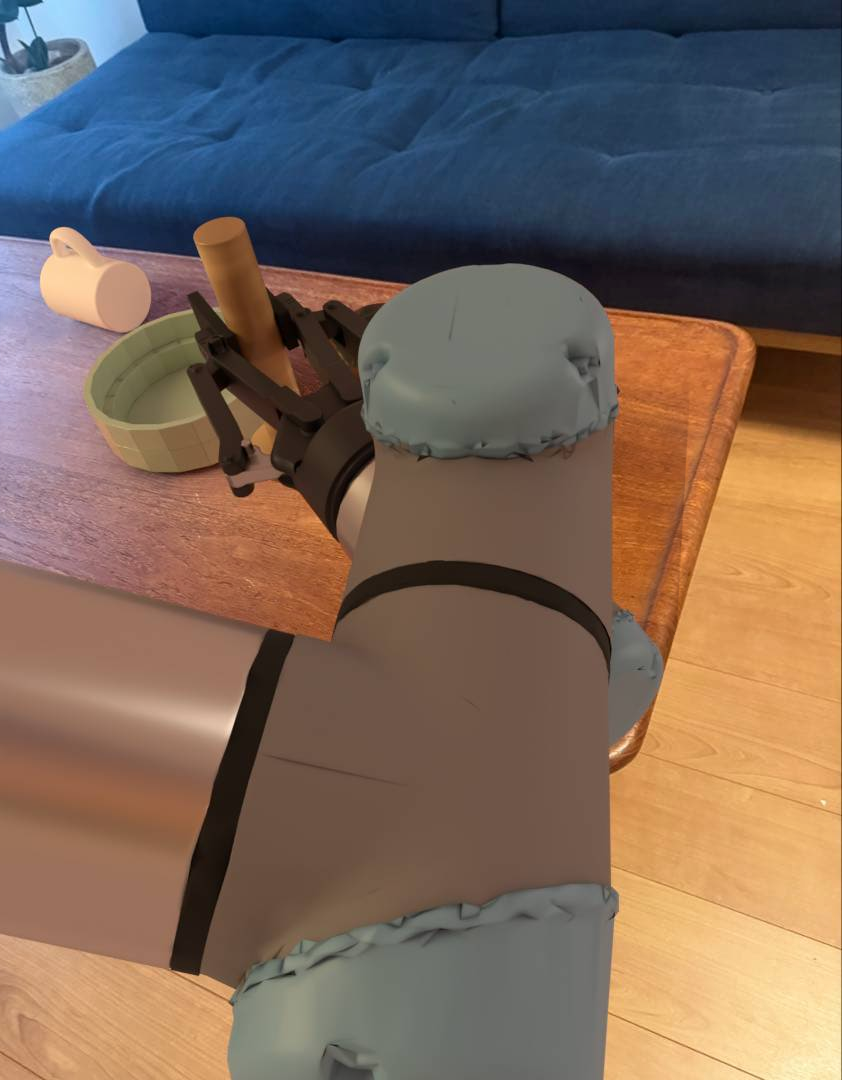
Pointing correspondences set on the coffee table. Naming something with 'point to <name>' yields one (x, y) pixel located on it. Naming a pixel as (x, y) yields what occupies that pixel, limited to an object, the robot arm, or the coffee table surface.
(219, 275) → the wooden peg stand
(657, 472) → the coffee table surface
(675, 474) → the coffee table surface
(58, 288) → the mug
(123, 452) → the bowl
